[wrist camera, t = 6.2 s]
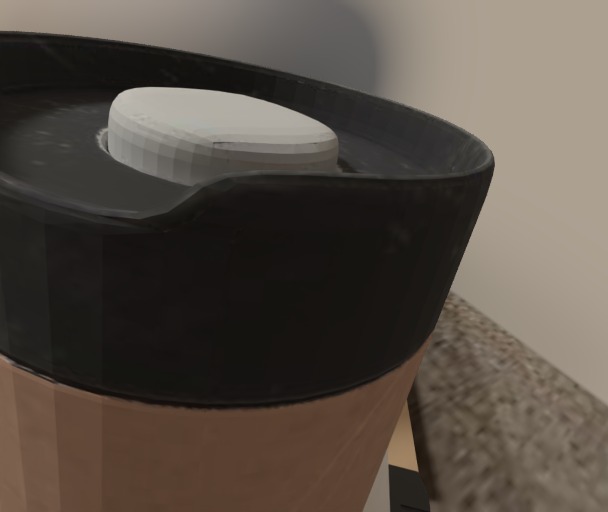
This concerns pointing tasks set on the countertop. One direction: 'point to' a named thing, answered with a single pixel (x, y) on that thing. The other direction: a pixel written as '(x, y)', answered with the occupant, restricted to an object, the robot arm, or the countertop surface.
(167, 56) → the travel mug
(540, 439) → the countertop surface
